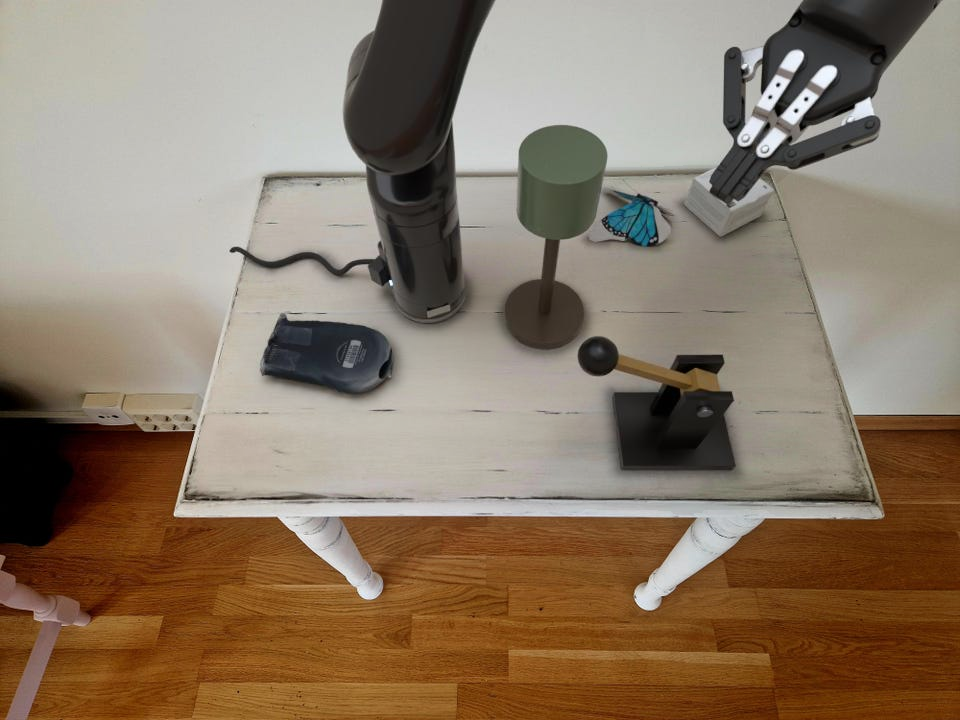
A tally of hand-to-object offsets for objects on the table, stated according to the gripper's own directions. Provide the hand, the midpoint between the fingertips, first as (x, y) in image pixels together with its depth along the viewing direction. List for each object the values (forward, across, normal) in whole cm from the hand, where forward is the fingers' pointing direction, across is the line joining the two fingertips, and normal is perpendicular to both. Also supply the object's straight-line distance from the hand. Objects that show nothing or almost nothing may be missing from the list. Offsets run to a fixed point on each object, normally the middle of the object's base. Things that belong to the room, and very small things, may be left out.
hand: (719, 198), depth 45 cm
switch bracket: (+22, +7, +17) cm, 29 cm away
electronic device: (+39, -26, +1) cm, 47 cm away
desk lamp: (+22, -14, +17) cm, 31 cm away
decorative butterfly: (+7, -17, +32) cm, 37 cm away
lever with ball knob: (+17, +3, +5) cm, 18 cm away
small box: (-1, -10, +40) cm, 41 cm away
